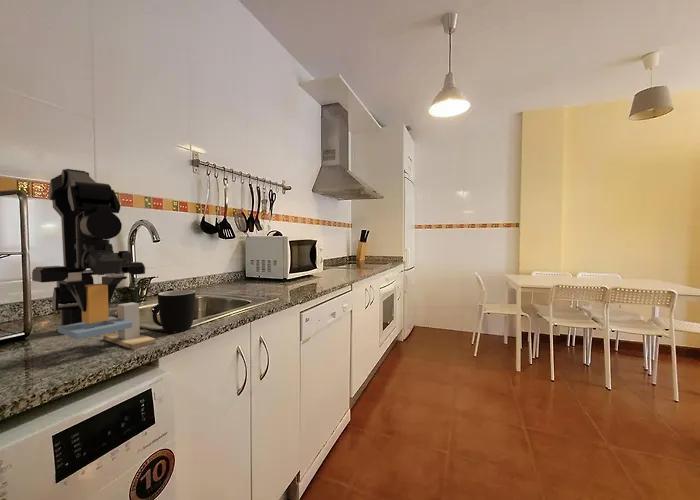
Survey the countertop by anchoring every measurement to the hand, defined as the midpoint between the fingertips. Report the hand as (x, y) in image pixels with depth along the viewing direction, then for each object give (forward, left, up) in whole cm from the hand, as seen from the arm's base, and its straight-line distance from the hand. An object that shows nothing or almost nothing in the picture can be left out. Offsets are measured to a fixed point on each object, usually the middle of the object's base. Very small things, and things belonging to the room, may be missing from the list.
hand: (95, 309), depth 70 cm
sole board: (0, +7, -9) cm, 11 cm away
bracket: (0, +2, -8) cm, 8 cm away
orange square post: (0, 0, -3) cm, 2 cm away
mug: (+1, +17, -9) cm, 19 cm away
